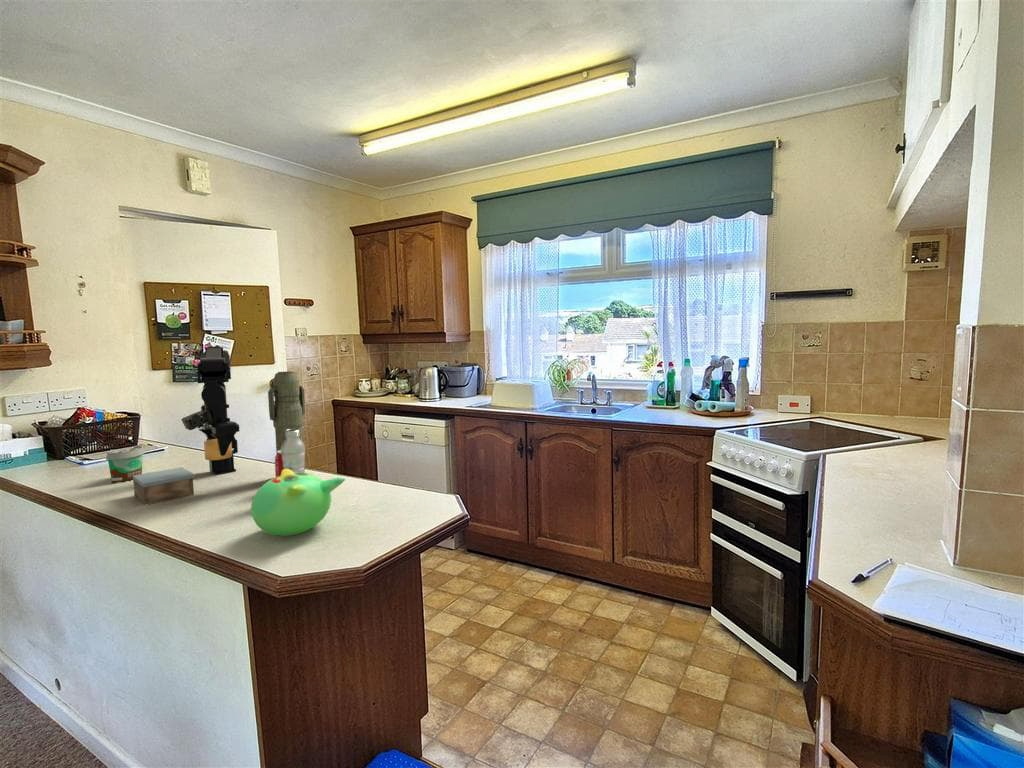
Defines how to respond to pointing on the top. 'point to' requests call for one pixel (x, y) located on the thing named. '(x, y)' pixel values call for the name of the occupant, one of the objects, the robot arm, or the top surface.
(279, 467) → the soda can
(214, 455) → the short orange cylinder
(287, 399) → the headless coat mannequin
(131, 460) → the food container
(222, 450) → the robot arm
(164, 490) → the walnut box
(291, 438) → the plastic bottle
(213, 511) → the top surface
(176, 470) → the lid
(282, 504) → the green toy creature
